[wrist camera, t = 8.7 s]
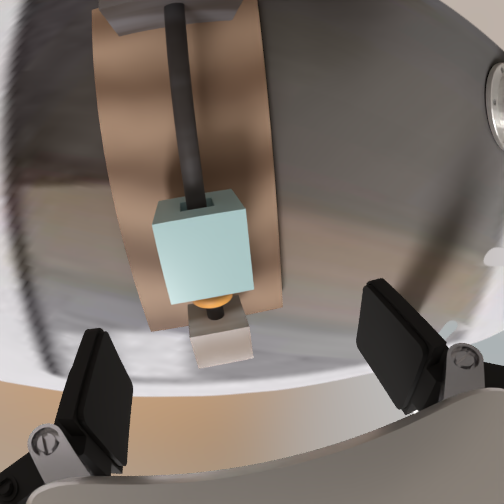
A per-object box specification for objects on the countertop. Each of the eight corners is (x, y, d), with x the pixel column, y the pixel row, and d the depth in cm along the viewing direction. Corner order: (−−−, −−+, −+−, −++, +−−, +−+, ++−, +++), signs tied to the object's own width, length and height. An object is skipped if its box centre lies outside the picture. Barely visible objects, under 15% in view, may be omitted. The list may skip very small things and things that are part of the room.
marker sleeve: (158, 201, 20) (151, 225, 15) (231, 188, 21) (245, 208, 16) (172, 266, 22) (171, 304, 18) (239, 255, 23) (254, 289, 18)
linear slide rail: (96, 15, 15) (66, -20, 9) (251, -6, 17) (279, -48, 11) (151, 321, 27) (147, 380, 20) (277, 298, 29) (305, 350, 22)
